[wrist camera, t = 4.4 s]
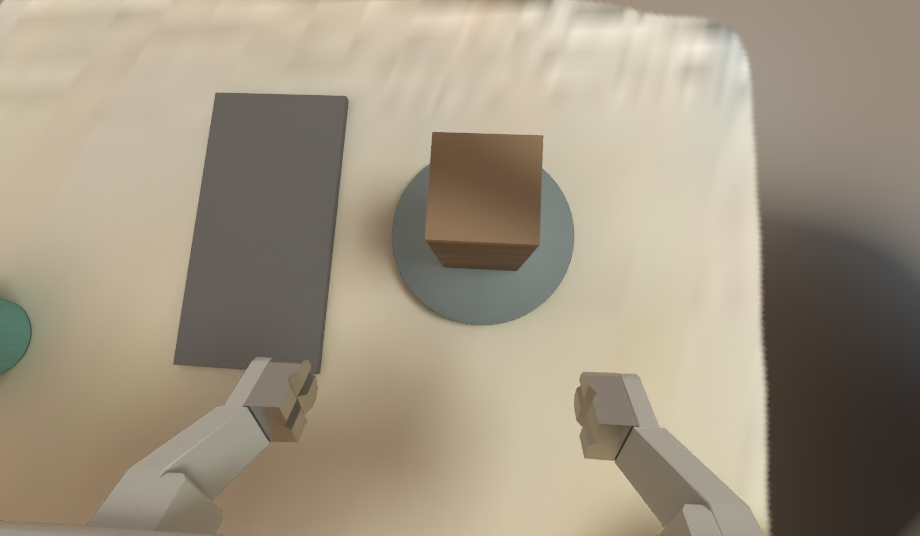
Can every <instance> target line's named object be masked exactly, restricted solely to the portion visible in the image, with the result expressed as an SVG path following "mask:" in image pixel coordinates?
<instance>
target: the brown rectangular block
mask: <svg viewBox="0 0 920 536" xmlns="http://www.w3.org/2000/svg"><path fill="white" fill-rule="evenodd" d="M542 153H543V136H541V135H509V134H477V133H446V132H432V146H431V160H430V173H429V187H428V201H427V215H426V229H425V241H426V242H427V243H428V245H429V246H430V248H431V249H432V251H433V252H434V254H435V255H436V257H437V258H438V260H439V261H440V263H441V264H442V266H443V267H446V268H465V269H484V270H504V271H518V270H519V269H520V267H521V266H522V265H523V264H524V263H525V262H526V260H527V259H528V258H529V257H530V256H531V254H532V253H533V252H534V251H535V250H536V249H537V247H538V246H539V245H540V219H541V186H542Z"/></svg>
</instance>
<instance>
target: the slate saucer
mask: <svg viewBox="0 0 920 536" xmlns="http://www.w3.org/2000/svg"><path fill="white" fill-rule="evenodd" d="M429 173H430V165H428V166H427V167H426V168H424V169H423V170H422V171H421V172H420V173H419V174H418V175H417V176H416V177H415V178H414V179H413V181H412V182H411V183H410V184H409V186H408V187H407V189H406V190H405V192H404V194H403V195H402V197H401V199H400V202H399V204H398V206H397V210H396V213H395V217H394V222H393V229H392V243H393V252H394V256H395V260H396V264H397V266H398V269H399V271H400V274H401V276H402V277H403V279H404V281H405V283H406V284H407V286H408V287H409V288H410V290H411V291H412V292H413V294H414V295H415V296H416V297H417V298H418V299H419V300H420V301H421V302H422V303H424V304H425V305H426V306H427V307H429V308H430V309H431V310H433V311H435V312H436V313H438V314H440V315H442V316H444V317H446V318H449V319H451V320H454V321H458V322H461V323H465V324H473V325H493V324H500V323H505V322H508V321H512V320H515V319H517V318H520V317H522V316H524V315H526V314H528V313H529V312H531V311H533V310H534V309H536V308H537V307H539V306H540V305H541V304H542V303H544V302H545V301H546V300H547V299H548V298H549V297H550V296H551V295H552V294H553V293H554V291H555V290H556V288H557V287H558V286H559V284H560V283H561V281H562V279H563V277H564V276H565V274H566V272H567V269H568V266H569V264H570V261H571V257H572V252H573V246H574V225H573V220H572V214H571V211H570V208H569V205H568V203H567V201H566V198H565V196H564V194H563V192H562V191H561V189H560V188H559V186H558V185H557V183H556V182H555V181H554V180H553V179H552V178H551V176H550V175H549V174H548V173H547V172H546V171H544V170H543V169H542V186H541V219H540V245H539V246H538V247H537V249H536V250H535V251H534V252H533V253H532V254H531V256H530V257H529V258H528V259H527V260H526V262H525V263H524V264H523V265H522V266H521V267H520V269H519V270H518V271H504V270H484V269H465V268H446V267H443V266H442V264H441V263H440V261H439V260H438V258H437V257H436V255H435V254H434V252H433V251H432V249H431V248H430V246H429V245H428V243H427V242H426V241H425V229H426V215H427V201H428V187H429Z"/></svg>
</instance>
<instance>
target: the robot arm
mask: <svg viewBox="0 0 920 536" xmlns="http://www.w3.org/2000/svg"><path fill="white" fill-rule="evenodd" d="M310 369H311V365H310V363H309V361H308V360H298V359H283V358H268V357H256V358H255V359H254V360H253V361H252V362H251V363H250V365H249V366H248V368H247V369H246V371H245V373H244V374H243V376H242V377H241V379H240V380H239V382H238V384H237V385H236V387H235V388H234V390H233V391H232V393H231V395H230V396H229V398H228V399H227V401H226V403H225V404H224V405H219V406H217V407H216V408H214V409H213V410H211V411H210V412H209V413H207V414H206V415H204V416H203V417H201V418H200V419H199V420H197V421H196V422H194V423H193V424H191V425H190V426H189V427H187V428H186V429H184V430H183V431H182V432H180V433H179V434H177V435H176V436H174V437H173V438H172V439H170V440H169V441H167V442H166V443H164V444H163V445H162V446H160V447H159V448H157V449H156V450H154V451H153V452H152V453H150V454H149V455H147V456H146V457H145V458H143V459H142V460H140V461H139V462H137V463H136V464H135V465H133V466H132V467H130V468H129V469H128V471H127V472H126V473H125V475H124V476H123V477H122V479H121V480H120V481H119V483H118V484H117V485H116V487H115V488H114V489H113V491H112V492H111V493H110V495H109V496H108V497H107V499H106V500H105V501H104V503H103V504H102V505H101V507H100V508H99V509H98V511H97V512H96V513H95V515H94V516H93V517H92V519H91V520H90V522H89V523H88V524H87V526H78V525H64V524H49V523H34V522H19V521H4V520H0V536H224V535H215V533H216V531H217V529H218V527H219V524H220V522H221V520H222V518H223V514H222V511H221V510H220V509H219V508H218V507H217V506H216V505H215V504H214V503H213V502H212V500H213V499H214V498H215V497H216V496H217V495H218V494H219V493H220V492H221V491H222V490H223V489H224V488H225V487H226V486H227V485H228V484H229V483H230V482H231V481H232V480H233V479H234V478H235V477H236V476H237V475H238V474H239V473H240V472H241V471H242V470H243V469H244V468H245V467H246V466H247V465H248V464H249V463H250V462H251V461H252V460H253V459H254V458H255V457H256V456H257V455H258V454H259V453H260V452H261V451H262V450H263V449H264V448H265V447H266V446H267V445H268V444H269V441H271V442H298V440H299V438H300V436H301V433H302V431H303V429H304V426H305V424H306V421H307V420H306V417H305V413H306V412H307V411H308V410H309V409H311V408H312V407H313V404H314V402H315V399H316V395H317V389H318V387H317V380H316V377H315V376H314V375H313V374H311V373H310V372H309V371H310ZM579 380H580V384H581V386H580V387H578V388H577V389H576V392H575V396H574V408H575V415H576V420H577V422H578V423H579V424H580V425H581V426H582V430H581V433H580V440H581V444H582V449H583V454H584V458H587V459H599V460H611V461H615V463H616V465H617V466H618V467H619V469H620V470H621V471H622V472H623V474H624V475H625V476H626V478H627V479H628V480H629V482H630V483H631V484H632V486H633V487H634V488H635V489H636V491H637V492H638V493H639V495H640V496H641V497H642V499H643V500H644V501H645V503H646V504H647V505H648V506H649V508H650V509H651V510H652V512H653V513H654V514H655V516H656V517H657V518H658V520H659V521H660V522H661V523H662V525H663V526H664V528H663V529H662V530H661V532H660V533H659V534H658V535H657V536H764V535H763V533H762V531H761V529H760V527H759V525H758V523H757V521H756V519H755V517H754V515H753V513H752V511H751V509H750V507H749V506H748V505H747V504H746V503H745V502H744V501H743V500H741V499H740V498H739V497H738V496H737V495H736V494H735V493H734V492H733V491H732V490H731V489H730V488H729V487H728V486H726V485H725V484H724V483H723V482H722V481H721V480H720V479H719V478H718V477H717V476H716V475H715V474H714V473H713V472H711V471H710V470H709V469H708V468H707V467H706V466H705V465H704V464H703V463H702V462H701V461H700V460H699V459H698V458H696V457H695V456H694V455H693V454H692V453H691V452H690V451H689V450H688V449H687V448H686V447H685V446H684V445H683V444H681V443H680V442H679V441H678V440H677V439H676V438H675V437H674V436H673V435H672V434H671V433H670V432H669V431H668V430H666V429H665V428H660V427H659V425H658V422H657V420H656V417H655V415H654V412H653V410H652V407H651V405H650V402H649V400H648V397H647V395H646V392H645V390H644V387H643V385H642V382H641V380H640V377H639V376H638V375H637V374H618V373H605V372H583V373H582V374H581V376H580V379H579Z"/></svg>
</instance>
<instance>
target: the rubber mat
mask: <svg viewBox="0 0 920 536" xmlns="http://www.w3.org/2000/svg"><path fill="white" fill-rule="evenodd" d="M347 110H348V99H347V97H346V96H324V95H286V94H248V93H216V94H215V101H214V107H213V113H212V120H211V126H210V133H209V139H208V145H207V152H206V158H205V165H204V171H203V177H202V184H201V190H200V197H199V203H198V209H197V216H196V222H195V229H194V235H193V242H192V248H191V254H190V261H189V267H188V274H187V280H186V286H185V293H184V299H183V306H182V312H181V318H180V325H179V331H178V338H177V344H176V350H175V357H174V363H173V364H175V365H189V366H204V367H218V368H233V369H247V368H248V366H249V365H250V363H251V362H252V361H253V360H254V359H255V358H256V357H268V358H283V359H298V360H308V361H309V363H310V365H311V369H310V371H309V372H310V373H311V374H318V373H320V367H321V357H322V348H323V338H324V329H325V319H326V310H327V300H328V290H329V281H330V271H331V262H332V252H333V243H334V233H335V224H336V214H337V205H338V195H339V186H340V176H341V167H342V157H343V148H344V138H345V129H346V119H347Z"/></svg>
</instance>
